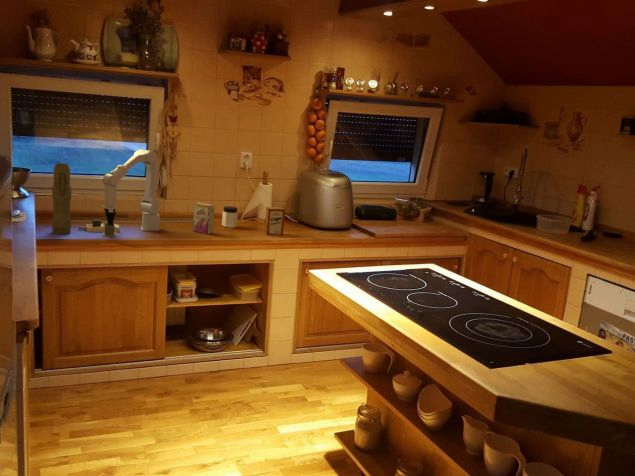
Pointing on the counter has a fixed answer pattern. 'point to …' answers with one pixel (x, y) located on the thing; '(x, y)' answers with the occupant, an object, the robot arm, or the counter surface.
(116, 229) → the power strip
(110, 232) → the block
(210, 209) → the candy bar box
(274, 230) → the baking soda box
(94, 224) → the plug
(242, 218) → the counter surface
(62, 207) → the carved stone statue
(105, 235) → the mat
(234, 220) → the jar
